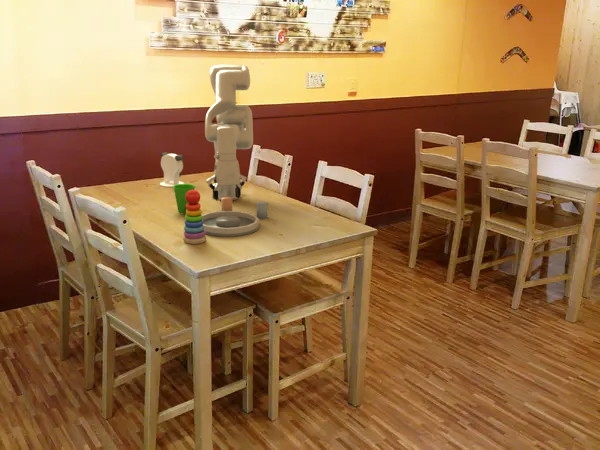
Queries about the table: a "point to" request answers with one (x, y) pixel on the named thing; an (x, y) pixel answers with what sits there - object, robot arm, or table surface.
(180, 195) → the cup
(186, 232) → the stacking toy
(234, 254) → the table surface
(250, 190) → the table surface
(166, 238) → the table surface
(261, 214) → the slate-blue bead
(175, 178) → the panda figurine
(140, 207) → the table surface
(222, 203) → the salmon orange block
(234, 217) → the groove tray
